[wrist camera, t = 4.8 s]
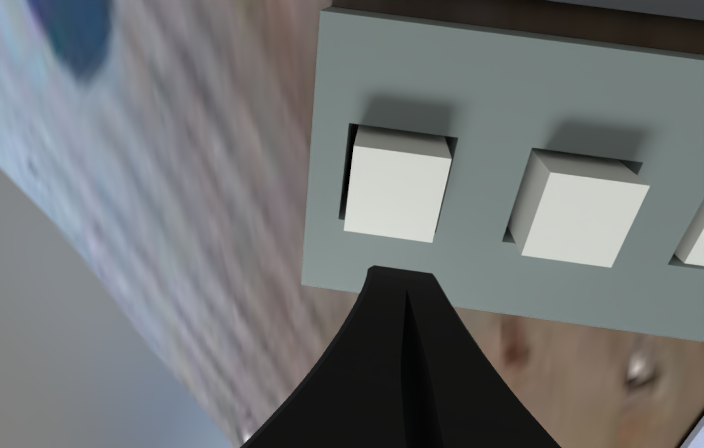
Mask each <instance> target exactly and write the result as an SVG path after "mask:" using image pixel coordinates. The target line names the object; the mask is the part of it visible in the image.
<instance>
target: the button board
mask: <svg viewBox="0 0 704 448" xmlns="http://www.w3.org/2000/svg"><path fill="white" fill-rule="evenodd" d="M353 124H360V125H368V126H375V127H383V128H390V129H398V130H405V131H413V132H420V133H427V134H435V135H442V136H446V138H445V140H446V143H447V146H448V149H449V152H450V155H451V158H452V160H451V164H450V169H449V173H448V177H447V181H446V186H445V190H444V194H443V199H442V203H441V207H440V212H439V216H438V220H437V224H436V229H435V233H434V237H433V242H432V243H429V242H422V241H415V240H408V239H401V238H393V237H386V236H379V235H372V234H365V233H357V232H350V231H344V224H345V216H346V207H347V199H348V191H345V186H346V177H347V168H348V160H349V151H350V142H351V133H352V125H353ZM532 148H539V149H547V150H554V151H561V152H569V153H576V154H584V155H591V156H599V157H606V158H614V159H617V160H619V161H620V162H621V163H622V164H623V165H625V166H626V167H627V168H628V169H630V170H631V171H632V172H633V173H635V174H636V175H637V176H638V177H640V178H641V179H642V180H643V181H645V182H646V183H647V184H648V185H650V187H649V189H648V191H647V193H646V196H645V198H644V200H643V202H642V204H641V206H640V208H639V210H638V212H637V214H636V217H635V219H634V221H633V223H632V225H631V227H630V229H629V231H628V233H627V235H626V238H625V240H624V242H623V244H622V246H621V248H620V250H619V252H618V254H617V257H616V259H615V261H614V263H613V265H612V267H611V268H609V267H602V266H595V265H588V264H581V263H573V262H566V261H559V260H552V259H545V258H537V257H530V256H523V255H521V253H520V251H519V249H518V247H517V245H516V243H515V241H514V238H513V236H512V234H511V232H510V230H509V228H508V225H507V224H508V221H509V218H510V215H511V212H512V208H513V205H514V202H515V199H516V196H517V193H518V190H519V187H520V183H521V180H522V177H523V174H524V171H525V168H526V165H527V162H528V159H529V155H530V152H531V149H532ZM703 199H704V55H702V54H694V53H687V52H679V51H671V50H664V49H656V48H648V47H640V46H633V45H625V44H617V43H609V42H602V41H594V40H586V39H579V38H571V37H563V36H555V35H548V34H540V33H532V32H524V31H517V30H509V29H501V28H494V27H486V26H478V25H470V24H463V23H455V22H447V21H439V20H432V19H424V18H416V17H409V16H401V15H393V14H385V13H378V12H370V11H362V10H354V9H347V8H339V7H328V8H326V9H323V10H321V11H320V20H319V34H318V48H317V62H316V77H315V91H314V105H313V120H312V134H311V148H310V163H309V177H308V191H307V206H306V220H305V234H304V249H303V263H302V277H301V285H306V286H313V287H320V288H327V289H334V290H341V291H348V292H355V293H360V292H361V290H362V288H363V285H364V282H365V279H366V276H367V270H368V268H370V267H372V266H373V265H377V266H384V267H391V268H398V269H405V270H412V271H419V272H427V273H433V275H434V276H435V277H436V279H437V281H438V282H439V284H440V286H441V288H442V289H443V291H444V293H445V294H446V296H447V298H448V300H449V301H450V303H451V305H452V306H454V307H461V308H468V309H475V310H482V311H489V312H496V313H503V314H511V315H518V316H525V317H532V318H539V319H546V320H553V321H560V322H567V323H574V324H581V325H588V326H595V327H602V328H609V329H617V330H624V331H631V332H638V333H645V334H652V335H659V336H666V337H673V338H680V339H687V340H694V341H701V342H704V266H700V265H693V264H686V263H683V262H682V261H681V260H680V259H679V258H678V257H677V256H676V255H675V254H674V252H675V250H676V248H677V247H678V245H679V243H680V241H681V239H682V237H683V236H684V234H685V232H686V230H687V228H688V227H689V225H690V223H691V221H692V219H693V217H694V216H695V214H696V212H697V210H698V208H699V206H700V205H701V203H702V201H703Z"/></svg>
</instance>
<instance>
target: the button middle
mask: <svg viewBox="0 0 704 448" xmlns="http://www.w3.org/2000/svg"><path fill="white" fill-rule="evenodd" d="M649 187H650V185H648V184H647V183H646V182H645V181H643V180H642V179H641V178H640V177H638V176H637V175H636V174H635V173H633V172H632V171H631V170H630V169H628V168H627V167H626V166H625V165H623V164H622V163H621V162H620V161H619V160H617V159H614V158H606V157H599V156H591V155H584V154H576V153H569V152H561V151H554V150H547V149H539V148H532V149H531V152H530V155H529V159H528V162H527V165H526V168H525V171H524V174H523V177H522V180H521V183H520V187H519V190H518V193H517V196H516V199H515V202H514V205H513V208H512V212H511V215H510V218H509V221H508V224H507V225H508V228H509V230H510V232H511V234H512V236H513V238H514V241H515V243H516V245H517V247H518V249H519V251H520V253H521V255H523V256H530V257H537V258H545V259H552V260H559V261H566V262H573V263H581V264H588V265H595V266H602V267H609V268H611V267H612V265H613V263H614V261H615V259H616V257H617V254H618V252H619V250H620V248H621V246H622V244H623V242H624V240H625V238H626V235H627V233H628V231H629V229H630V227H631V225H632V223H633V221H634V219H635V217H636V214H637V212H638V210H639V208H640V206H641V204H642V202H643V200H644V198H645V196H646V193H647V191H648V189H649Z"/></svg>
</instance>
